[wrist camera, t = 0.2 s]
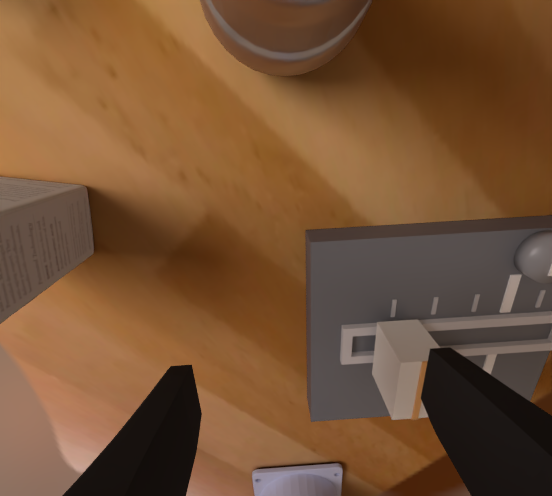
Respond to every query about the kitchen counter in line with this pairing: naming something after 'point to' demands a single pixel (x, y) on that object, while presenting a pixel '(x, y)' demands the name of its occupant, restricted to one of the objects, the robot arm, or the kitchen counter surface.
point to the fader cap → (402, 366)
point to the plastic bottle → (284, 31)
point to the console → (426, 302)
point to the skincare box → (40, 237)
